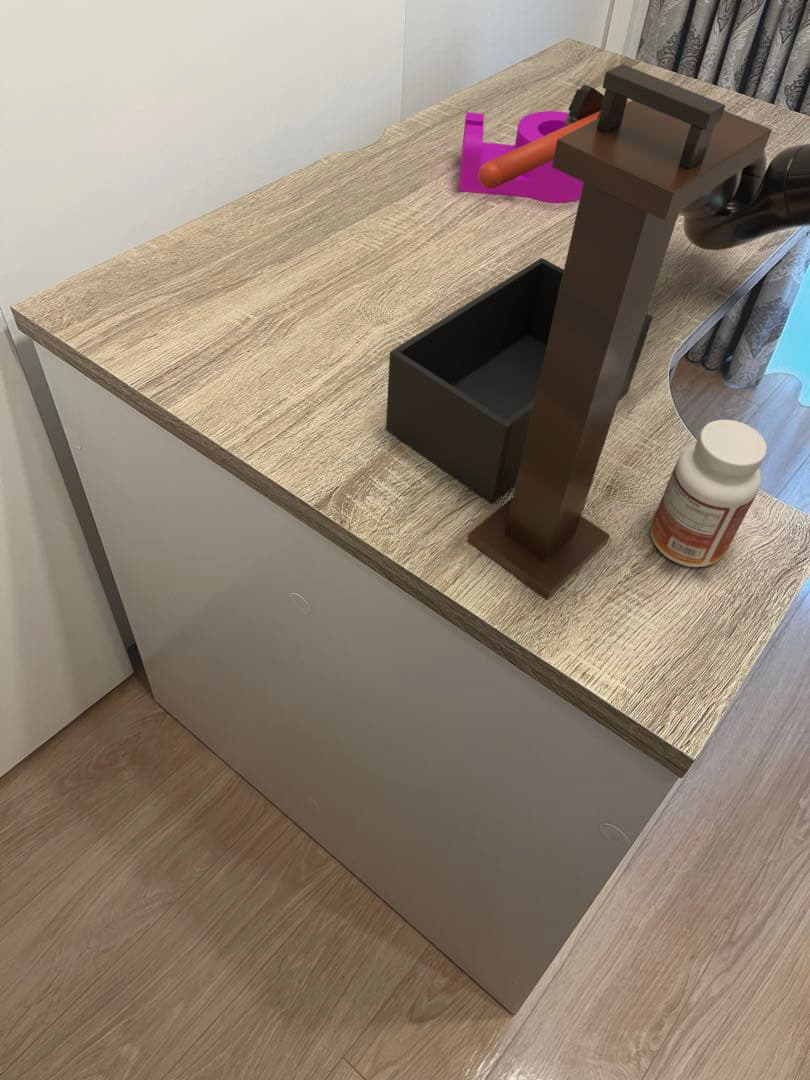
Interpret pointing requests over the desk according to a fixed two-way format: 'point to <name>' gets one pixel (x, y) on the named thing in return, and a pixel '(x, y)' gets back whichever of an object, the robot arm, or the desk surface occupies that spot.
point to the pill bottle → (709, 494)
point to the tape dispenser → (475, 153)
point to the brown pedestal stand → (606, 303)
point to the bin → (480, 380)
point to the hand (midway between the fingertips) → (592, 107)
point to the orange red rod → (526, 156)
